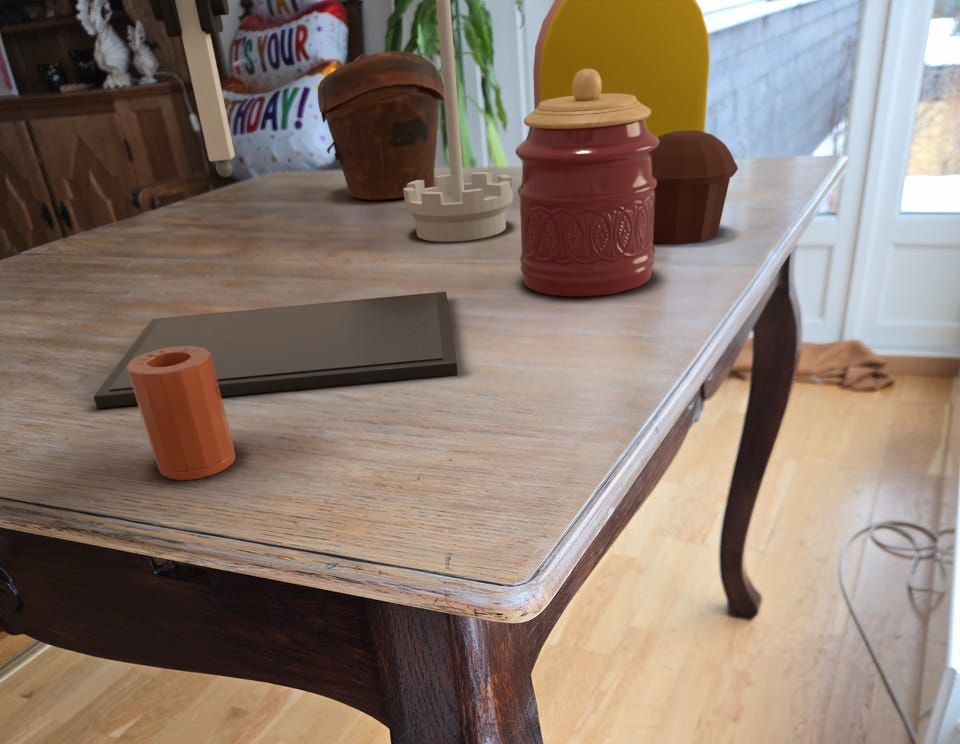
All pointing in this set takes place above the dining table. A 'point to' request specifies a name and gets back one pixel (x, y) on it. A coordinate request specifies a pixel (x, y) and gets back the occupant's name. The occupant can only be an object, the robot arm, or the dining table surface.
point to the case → (383, 121)
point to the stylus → (206, 87)
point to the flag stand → (456, 173)
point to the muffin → (690, 186)
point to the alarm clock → (629, 56)
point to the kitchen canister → (587, 193)
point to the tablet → (305, 345)
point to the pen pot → (182, 411)
